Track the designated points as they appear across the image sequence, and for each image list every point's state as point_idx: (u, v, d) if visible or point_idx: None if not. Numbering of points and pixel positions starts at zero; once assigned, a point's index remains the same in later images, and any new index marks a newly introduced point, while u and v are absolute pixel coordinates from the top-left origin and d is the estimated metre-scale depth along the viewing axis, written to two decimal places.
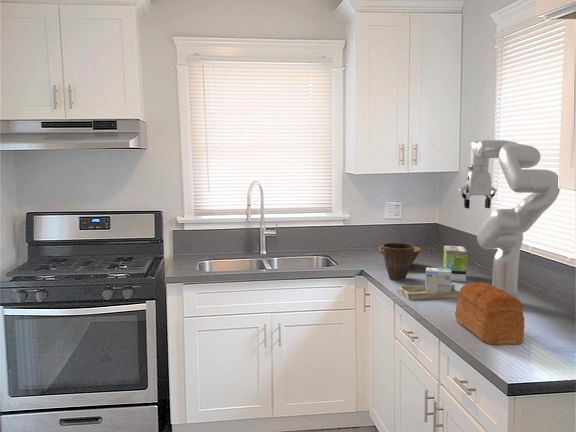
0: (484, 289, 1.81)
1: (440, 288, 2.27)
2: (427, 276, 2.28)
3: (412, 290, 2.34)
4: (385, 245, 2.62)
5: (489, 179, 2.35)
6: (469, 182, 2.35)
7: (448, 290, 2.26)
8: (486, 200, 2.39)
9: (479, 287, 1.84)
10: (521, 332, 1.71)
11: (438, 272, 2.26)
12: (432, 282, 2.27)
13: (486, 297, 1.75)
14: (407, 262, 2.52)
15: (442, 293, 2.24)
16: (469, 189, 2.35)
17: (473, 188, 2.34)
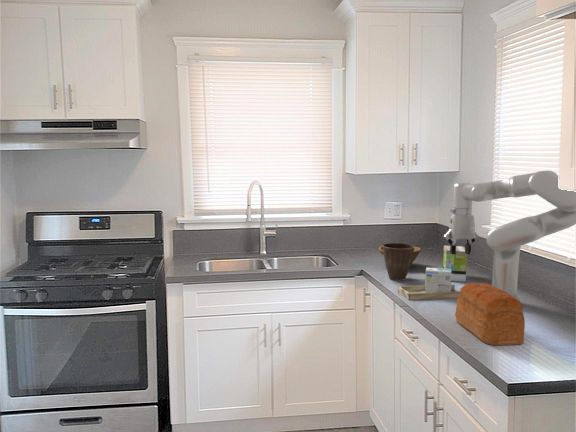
0: (484, 289, 1.80)
1: (440, 288, 2.27)
2: (427, 276, 2.28)
3: (412, 290, 2.34)
4: (385, 245, 2.62)
5: (472, 222, 2.26)
6: (452, 225, 2.26)
7: (448, 290, 2.26)
8: (466, 245, 2.30)
9: (479, 287, 1.84)
10: (521, 332, 1.71)
11: (438, 272, 2.26)
12: (432, 282, 2.27)
13: (486, 298, 1.74)
14: (407, 262, 2.52)
15: (442, 293, 2.24)
16: (452, 233, 2.26)
17: (456, 232, 2.26)
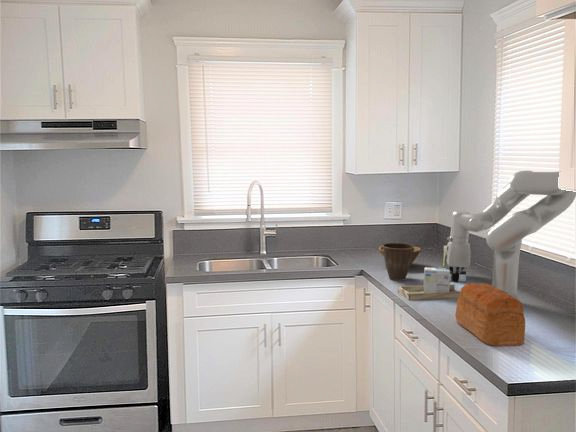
0: (484, 290, 1.80)
1: (439, 287, 2.27)
2: (426, 276, 2.28)
3: (412, 290, 2.34)
4: (385, 245, 2.62)
5: (468, 250, 2.29)
6: (448, 253, 2.29)
7: (447, 290, 2.26)
8: None
9: (479, 288, 1.83)
10: (522, 333, 1.71)
11: (437, 271, 2.27)
12: (430, 281, 2.28)
13: (487, 298, 1.74)
14: (407, 262, 2.52)
15: (442, 293, 2.24)
16: (447, 260, 2.29)
17: (452, 260, 2.28)
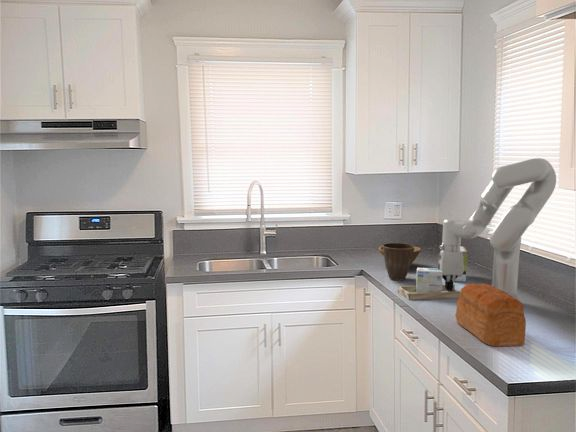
0: (485, 290, 1.79)
1: (431, 288, 2.27)
2: (418, 276, 2.27)
3: (412, 290, 2.34)
4: (385, 245, 2.62)
5: (461, 258, 2.28)
6: (440, 262, 2.28)
7: (439, 290, 2.26)
8: None
9: (480, 288, 1.83)
10: (522, 334, 1.70)
11: (429, 272, 2.26)
12: (423, 282, 2.27)
13: (487, 299, 1.73)
14: (407, 262, 2.52)
15: (442, 293, 2.24)
16: (440, 269, 2.28)
17: (444, 268, 2.27)
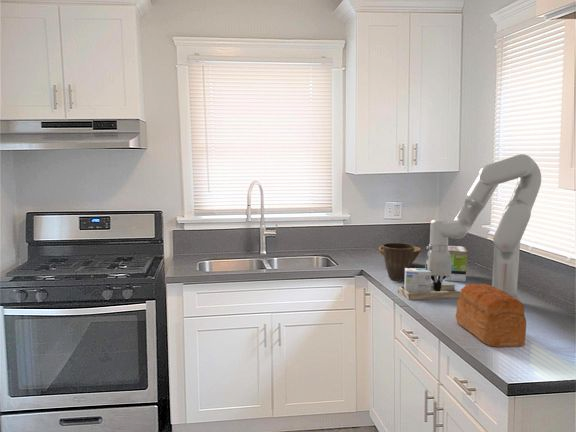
0: (485, 290, 1.79)
1: (420, 288, 2.26)
2: (407, 277, 2.26)
3: None
4: (385, 245, 2.62)
5: (448, 259, 2.27)
6: (428, 262, 2.27)
7: (428, 290, 2.26)
8: None
9: (480, 288, 1.82)
10: (523, 334, 1.70)
11: (418, 272, 2.25)
12: (412, 282, 2.26)
13: (487, 299, 1.73)
14: (407, 262, 2.52)
15: (442, 293, 2.24)
16: (428, 269, 2.27)
17: (432, 269, 2.26)
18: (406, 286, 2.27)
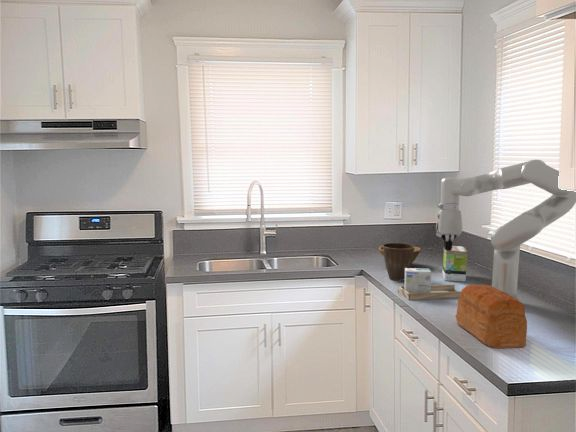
0: (486, 291, 1.78)
1: (420, 288, 2.26)
2: (407, 277, 2.26)
3: None
4: (385, 245, 2.62)
5: (459, 217, 2.25)
6: (439, 221, 2.25)
7: (428, 290, 2.26)
8: None
9: (480, 289, 1.82)
10: (524, 335, 1.69)
11: (418, 272, 2.25)
12: (412, 282, 2.26)
13: (488, 300, 1.72)
14: (407, 262, 2.52)
15: (442, 293, 2.24)
16: (439, 228, 2.25)
17: (443, 227, 2.25)
18: (406, 286, 2.27)
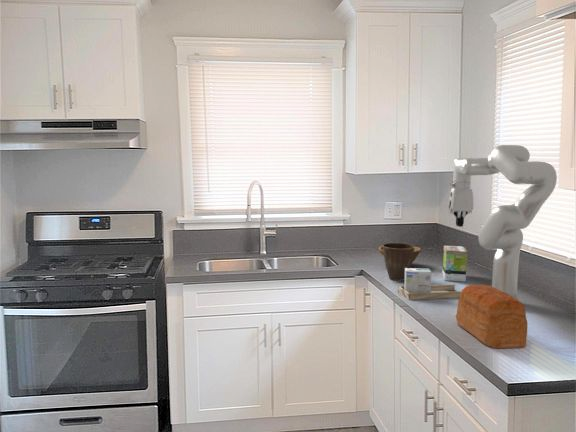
0: (486, 291, 1.78)
1: (420, 288, 2.26)
2: (407, 277, 2.26)
3: None
4: (385, 245, 2.62)
5: (471, 195, 2.41)
6: (452, 198, 2.41)
7: (428, 290, 2.26)
8: None
9: (481, 289, 1.81)
10: (524, 335, 1.68)
11: (418, 272, 2.25)
12: (412, 282, 2.26)
13: (488, 300, 1.71)
14: (407, 262, 2.52)
15: (442, 293, 2.24)
16: (452, 205, 2.41)
17: (456, 204, 2.40)
18: (406, 286, 2.27)
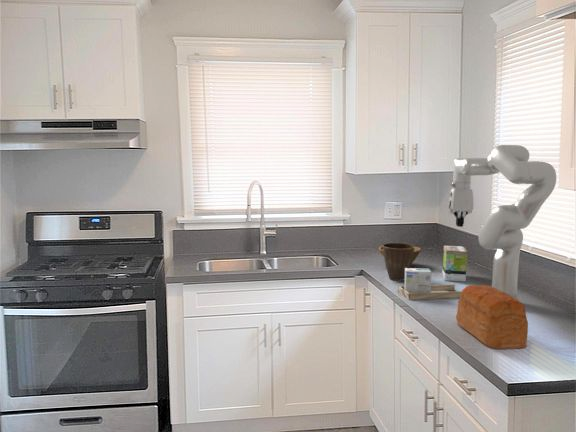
0: (486, 292, 1.77)
1: (420, 288, 2.26)
2: (407, 277, 2.26)
3: None
4: (385, 245, 2.62)
5: (471, 195, 2.41)
6: (452, 198, 2.41)
7: (428, 290, 2.26)
8: None
9: (481, 290, 1.81)
10: (525, 336, 1.68)
11: (418, 272, 2.25)
12: (412, 282, 2.26)
13: (489, 300, 1.71)
14: (407, 262, 2.52)
15: (442, 293, 2.24)
16: (452, 205, 2.41)
17: (456, 204, 2.40)
18: (406, 286, 2.27)
